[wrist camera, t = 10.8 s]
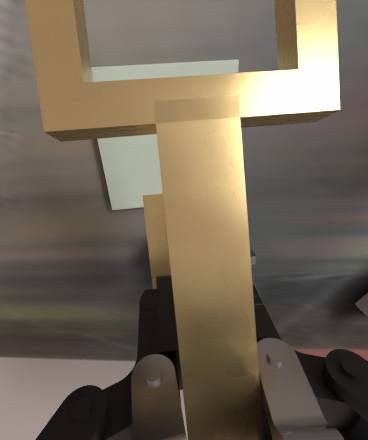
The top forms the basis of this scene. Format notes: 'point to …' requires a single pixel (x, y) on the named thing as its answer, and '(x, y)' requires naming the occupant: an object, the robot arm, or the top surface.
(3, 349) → the top surface
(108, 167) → the mat
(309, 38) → the square loop paddle
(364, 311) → the white arched piece
